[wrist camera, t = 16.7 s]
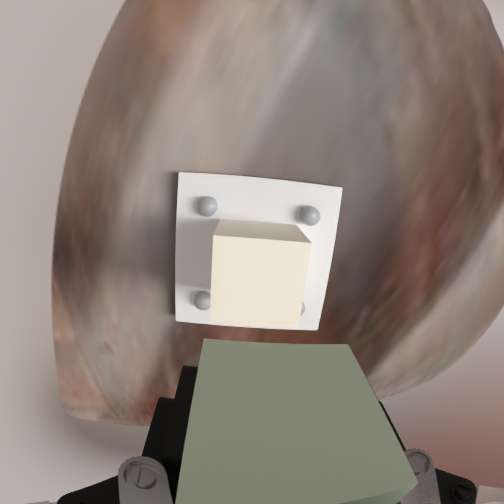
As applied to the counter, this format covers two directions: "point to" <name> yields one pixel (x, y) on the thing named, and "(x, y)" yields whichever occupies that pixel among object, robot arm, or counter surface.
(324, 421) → the sage block
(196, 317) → the plate
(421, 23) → the counter surface
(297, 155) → the counter surface
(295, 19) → the counter surface
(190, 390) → the robot arm
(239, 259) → the cream block
